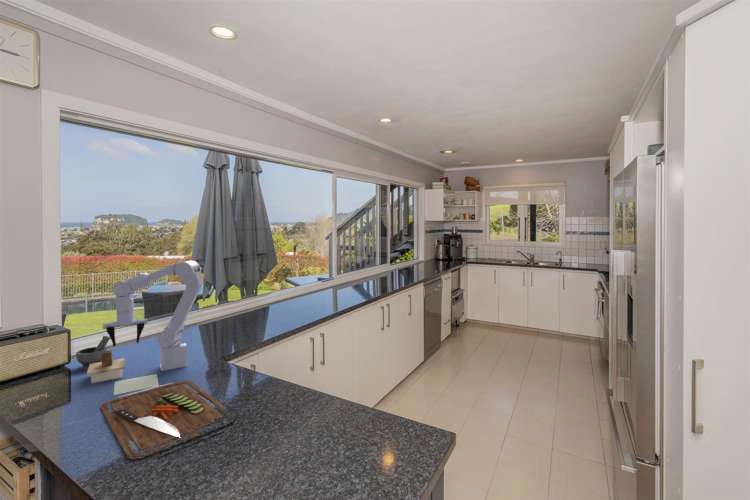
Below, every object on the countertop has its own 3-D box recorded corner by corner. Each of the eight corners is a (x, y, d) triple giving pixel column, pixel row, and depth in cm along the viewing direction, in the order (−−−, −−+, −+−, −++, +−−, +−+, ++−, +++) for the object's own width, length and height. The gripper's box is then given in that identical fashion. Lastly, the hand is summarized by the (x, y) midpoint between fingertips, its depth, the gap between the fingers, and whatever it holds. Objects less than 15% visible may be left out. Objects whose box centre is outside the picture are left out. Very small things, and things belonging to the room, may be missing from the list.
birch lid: (125, 360, 142) (124, 345, 141) (124, 368, 133) (124, 353, 132) (89, 365, 135) (89, 350, 135) (86, 375, 126) (86, 359, 126)
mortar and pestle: (77, 373, 138) (76, 342, 138) (75, 366, 145) (74, 337, 145) (112, 366, 146) (112, 337, 145) (110, 360, 153) (109, 332, 152)
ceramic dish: (122, 371, 141) (122, 361, 141) (121, 378, 133) (121, 368, 133) (93, 376, 136) (93, 365, 135) (91, 384, 128) (90, 373, 128)
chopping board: (243, 425, 102) (243, 415, 102) (133, 470, 83) (132, 457, 83) (187, 380, 133) (187, 372, 133) (97, 405, 114) (97, 395, 114)
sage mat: (156, 374, 137) (156, 373, 137) (158, 386, 126) (158, 385, 126) (114, 382, 130) (114, 381, 130) (113, 396, 119) (113, 395, 119)
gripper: (101, 314, 135) (103, 350, 136) (147, 310, 143) (148, 343, 144) (103, 311, 141) (104, 345, 142) (146, 307, 149) (147, 339, 150)
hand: (126, 344), depth 143 cm, fingers open, 7 cm apart
